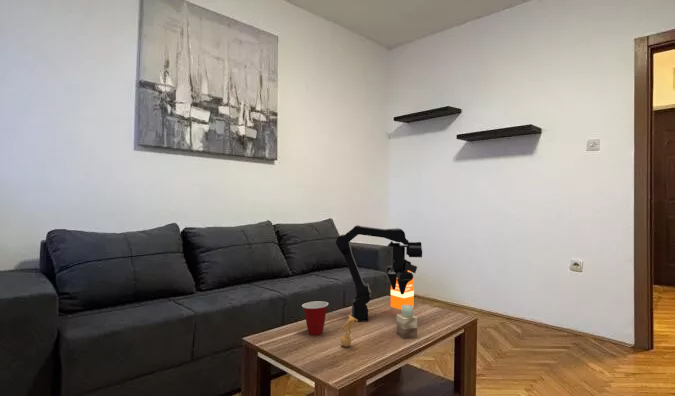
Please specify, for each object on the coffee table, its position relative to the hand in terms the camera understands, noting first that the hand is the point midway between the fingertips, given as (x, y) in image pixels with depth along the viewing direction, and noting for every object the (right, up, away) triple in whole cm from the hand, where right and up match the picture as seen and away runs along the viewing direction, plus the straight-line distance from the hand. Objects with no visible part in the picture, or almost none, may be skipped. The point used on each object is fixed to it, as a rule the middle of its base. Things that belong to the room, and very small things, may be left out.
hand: (398, 291), depth 171 cm
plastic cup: (-36, -13, -16) cm, 42 cm away
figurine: (-23, -13, -31) cm, 41 cm away
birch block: (+1, -9, -18) cm, 21 cm away
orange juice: (+6, -13, +22) cm, 26 cm away
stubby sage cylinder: (+1, -5, -18) cm, 19 cm away
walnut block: (+1, -13, -18) cm, 23 cm away
